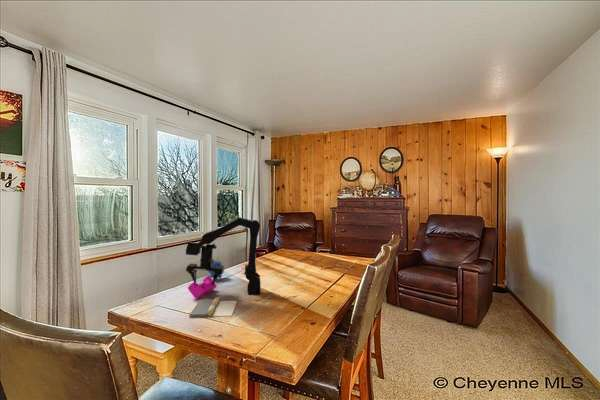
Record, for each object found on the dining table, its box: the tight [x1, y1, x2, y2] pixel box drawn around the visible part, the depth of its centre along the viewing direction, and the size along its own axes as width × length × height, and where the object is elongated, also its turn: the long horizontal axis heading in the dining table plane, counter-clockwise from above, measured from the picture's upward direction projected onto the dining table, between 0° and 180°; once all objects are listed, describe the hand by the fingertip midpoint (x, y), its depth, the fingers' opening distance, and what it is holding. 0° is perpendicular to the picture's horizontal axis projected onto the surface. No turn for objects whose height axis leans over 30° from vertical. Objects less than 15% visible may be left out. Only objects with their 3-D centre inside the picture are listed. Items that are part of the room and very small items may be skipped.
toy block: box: [187, 275, 218, 300], centre depth 150 cm, size 15×6×8 cm
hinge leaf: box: [188, 296, 220, 318], centre depth 132 cm, size 9×18×2 cm, turn 5°
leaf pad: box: [211, 300, 238, 318], centre depth 132 cm, size 8×17×1 cm, turn 5°
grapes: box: [207, 260, 225, 280], centre depth 177 cm, size 12×7×12 cm, turn 145°
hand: (204, 284), depth 151 cm, fingers open, 9 cm apart
